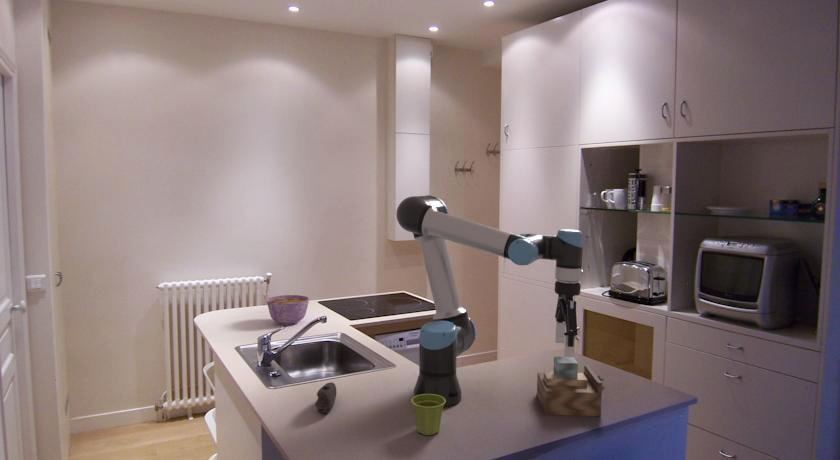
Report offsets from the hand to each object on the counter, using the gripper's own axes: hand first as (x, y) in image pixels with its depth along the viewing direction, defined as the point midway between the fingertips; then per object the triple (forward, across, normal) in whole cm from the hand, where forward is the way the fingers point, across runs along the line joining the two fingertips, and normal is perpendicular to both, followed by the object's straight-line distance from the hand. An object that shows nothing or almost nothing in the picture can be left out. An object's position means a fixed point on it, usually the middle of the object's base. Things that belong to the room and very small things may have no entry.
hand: (564, 349), depth 167 cm
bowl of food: (+20, +89, +112) cm, 144 cm away
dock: (+17, 0, -2) cm, 17 cm away
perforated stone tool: (+19, -7, +71) cm, 74 cm away
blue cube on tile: (+10, 0, -1) cm, 10 cm away
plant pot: (+18, -21, +40) cm, 49 cm away
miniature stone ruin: (+18, +15, -12) cm, 26 cm away
